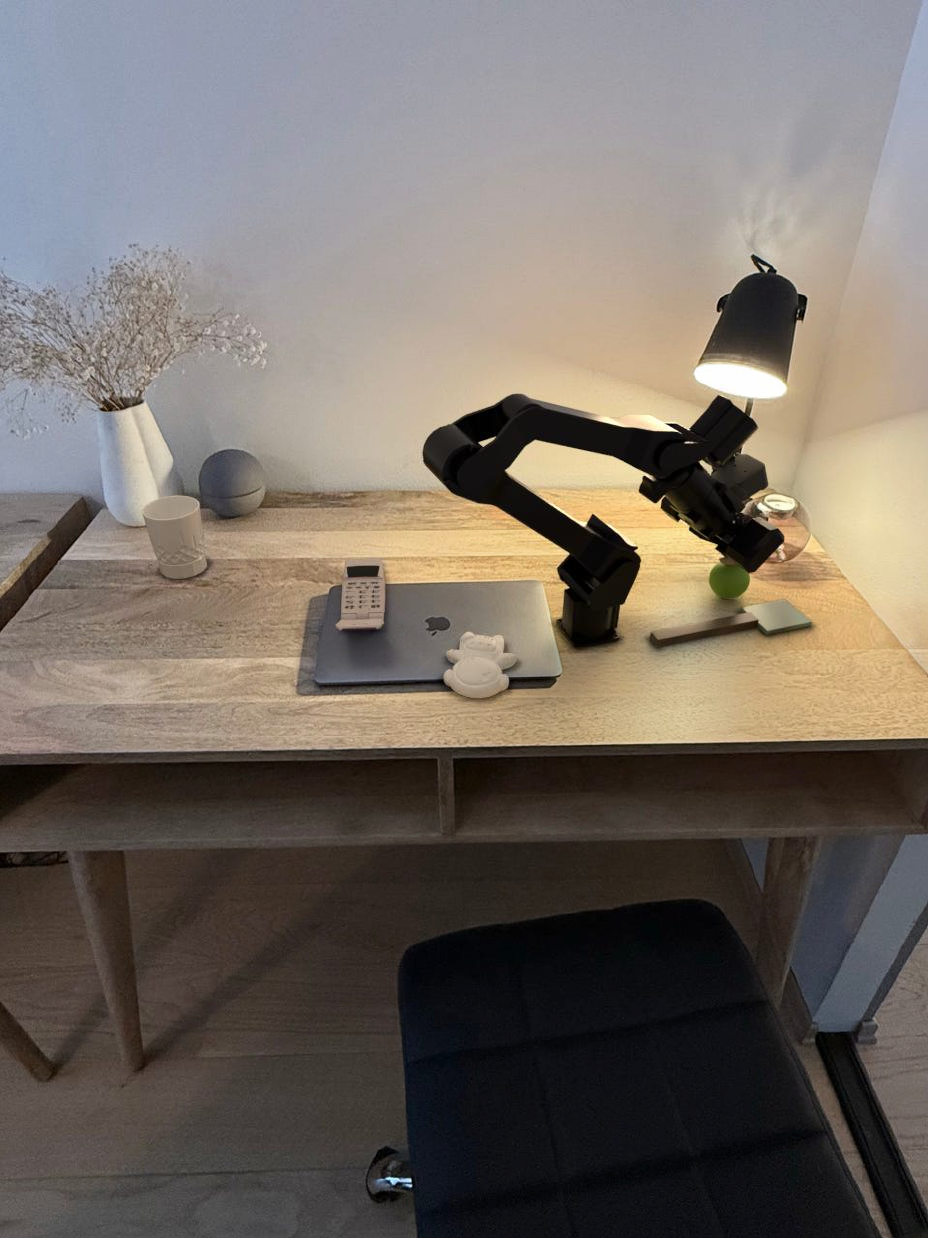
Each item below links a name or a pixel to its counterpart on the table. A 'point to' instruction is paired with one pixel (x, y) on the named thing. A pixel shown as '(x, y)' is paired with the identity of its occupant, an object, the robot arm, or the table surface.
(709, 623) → the spatula
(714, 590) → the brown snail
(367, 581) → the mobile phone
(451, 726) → the table surface
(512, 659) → the white animal figurine
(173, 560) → the white cup
